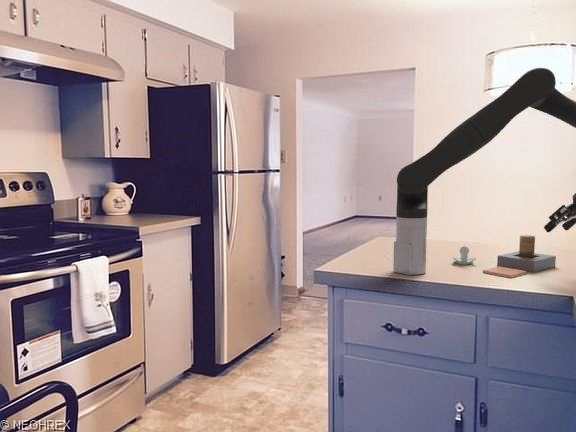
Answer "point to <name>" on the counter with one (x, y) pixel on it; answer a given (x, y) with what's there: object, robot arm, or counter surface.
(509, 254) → the pocket holder
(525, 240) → the walnut peg
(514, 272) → the terracotta tile
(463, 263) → the pacifier
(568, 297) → the counter surface
